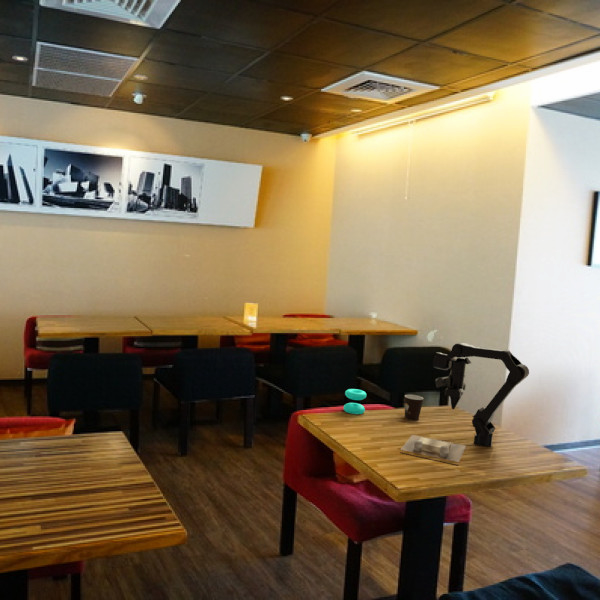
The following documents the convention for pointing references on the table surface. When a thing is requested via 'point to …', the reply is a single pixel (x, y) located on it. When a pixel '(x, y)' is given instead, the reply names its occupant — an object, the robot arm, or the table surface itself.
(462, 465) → the table surface
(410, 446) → the bench board
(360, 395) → the donuts
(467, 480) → the table surface
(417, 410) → the coffee mug
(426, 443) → the maple plate
